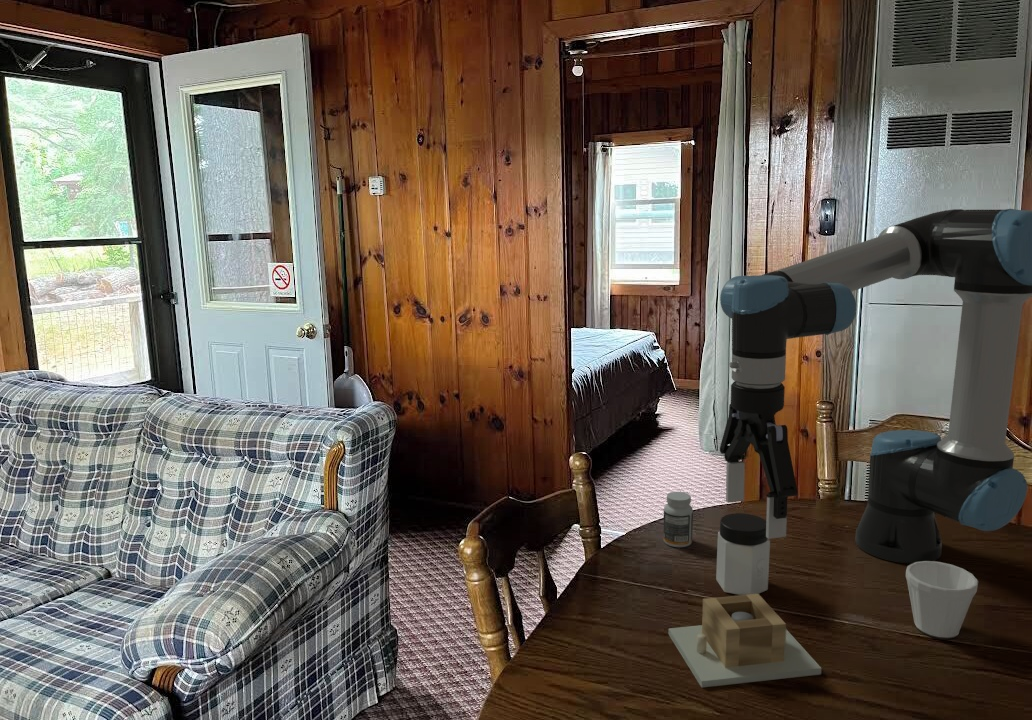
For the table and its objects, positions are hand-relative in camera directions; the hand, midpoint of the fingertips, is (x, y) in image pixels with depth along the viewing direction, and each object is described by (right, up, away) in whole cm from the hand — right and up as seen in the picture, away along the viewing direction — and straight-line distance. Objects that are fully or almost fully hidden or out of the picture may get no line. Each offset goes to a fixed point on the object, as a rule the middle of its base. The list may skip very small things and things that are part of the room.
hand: (754, 518), depth 119 cm
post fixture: (-2, -20, 0) cm, 20 cm away
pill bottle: (-4, -13, +38) cm, 40 cm away
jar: (+4, -16, +20) cm, 26 cm away
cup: (+30, -19, +5) cm, 36 cm away
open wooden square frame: (-2, -19, -1) cm, 20 cm away
